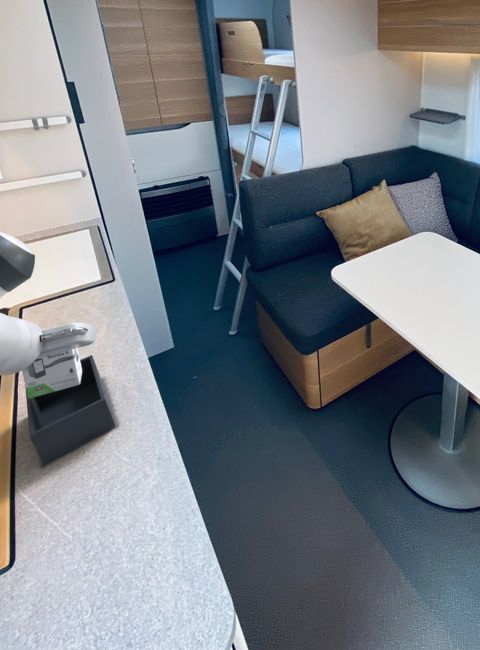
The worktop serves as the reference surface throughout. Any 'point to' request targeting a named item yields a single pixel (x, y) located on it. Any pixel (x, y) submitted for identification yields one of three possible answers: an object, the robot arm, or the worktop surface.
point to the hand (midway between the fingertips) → (44, 352)
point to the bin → (69, 415)
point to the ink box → (53, 373)
